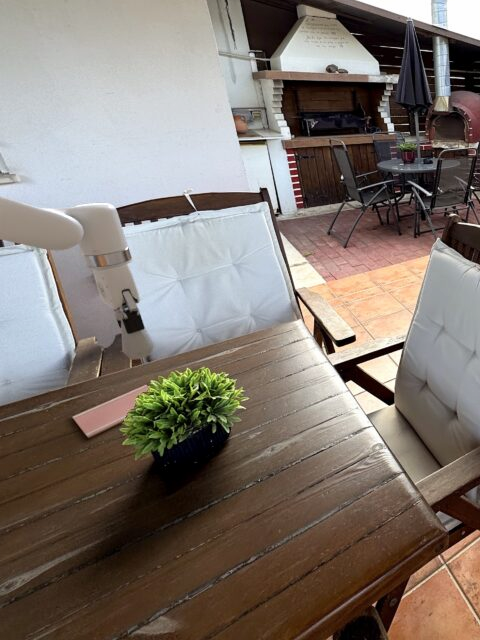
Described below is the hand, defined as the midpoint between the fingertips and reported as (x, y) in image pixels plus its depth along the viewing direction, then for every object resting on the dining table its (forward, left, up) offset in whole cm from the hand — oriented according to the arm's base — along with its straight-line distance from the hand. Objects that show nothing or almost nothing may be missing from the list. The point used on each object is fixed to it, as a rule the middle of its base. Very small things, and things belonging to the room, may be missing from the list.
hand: (132, 327), depth 97 cm
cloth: (-8, -9, -14) cm, 19 cm away
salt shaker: (0, 0, -8) cm, 8 cm away
